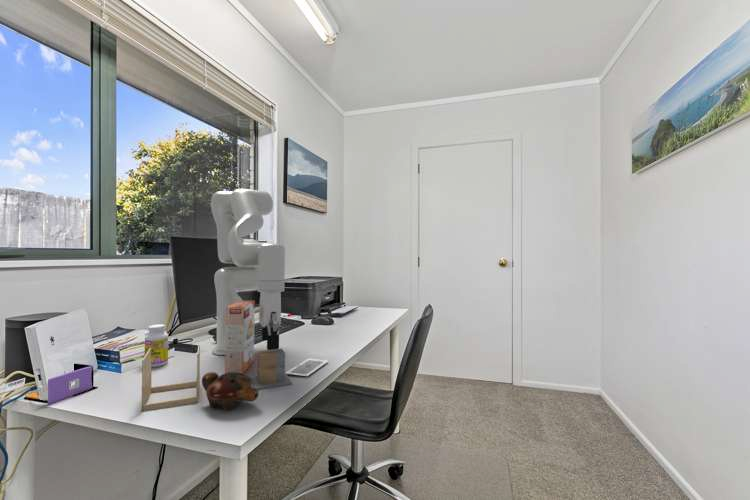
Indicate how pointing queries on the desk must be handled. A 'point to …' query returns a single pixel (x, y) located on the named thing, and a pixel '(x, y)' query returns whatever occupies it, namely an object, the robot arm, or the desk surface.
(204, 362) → the desk surface
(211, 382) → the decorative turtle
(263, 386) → the rubber mat
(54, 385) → the toy room diorama
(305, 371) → the touchpad
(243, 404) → the desk surface
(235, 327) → the cracker box
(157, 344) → the supplement bottle
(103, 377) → the desk surface
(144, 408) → the wooden rack
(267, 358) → the box
